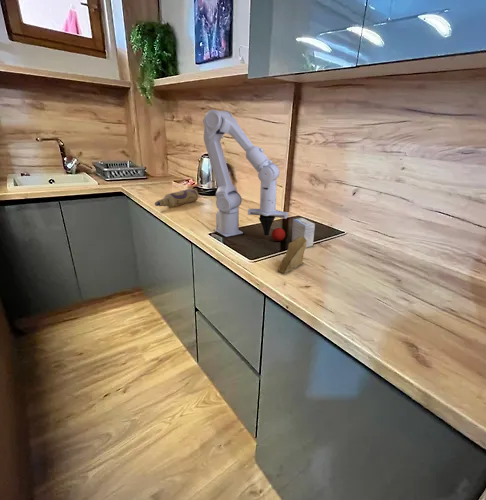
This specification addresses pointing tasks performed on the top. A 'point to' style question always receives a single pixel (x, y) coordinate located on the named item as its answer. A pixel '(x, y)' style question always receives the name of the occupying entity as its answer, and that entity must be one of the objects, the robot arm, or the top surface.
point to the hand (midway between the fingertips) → (266, 234)
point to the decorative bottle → (178, 198)
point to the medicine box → (303, 230)
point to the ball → (278, 234)
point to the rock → (293, 255)
